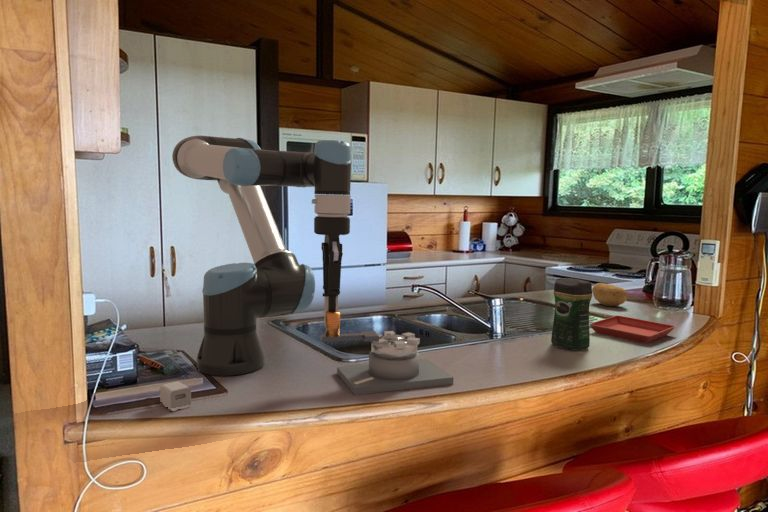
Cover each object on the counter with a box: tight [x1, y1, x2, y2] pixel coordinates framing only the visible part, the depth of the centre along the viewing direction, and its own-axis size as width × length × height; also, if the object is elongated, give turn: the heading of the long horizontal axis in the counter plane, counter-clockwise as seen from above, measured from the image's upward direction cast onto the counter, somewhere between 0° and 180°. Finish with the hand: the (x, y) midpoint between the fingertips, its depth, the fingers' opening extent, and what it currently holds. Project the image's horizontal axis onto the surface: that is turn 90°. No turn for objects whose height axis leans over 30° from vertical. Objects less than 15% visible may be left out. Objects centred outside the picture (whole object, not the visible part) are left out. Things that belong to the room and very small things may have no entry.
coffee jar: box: [550, 277, 593, 351], centre depth 150 cm, size 10×8×19 cm
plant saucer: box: [589, 315, 676, 344], centre depth 166 cm, size 18×18×3 cm
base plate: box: [336, 351, 454, 396], centre depth 122 cm, size 22×14×6 cm, turn 109°
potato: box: [592, 282, 629, 307], centre depth 208 cm, size 10×14×8 cm
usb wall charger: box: [159, 381, 192, 409], centre depth 106 cm, size 4×7×4 cm, turn 44°
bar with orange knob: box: [320, 310, 421, 360], centre depth 120 cm, size 21×11×10 cm, turn 103°
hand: (330, 325), depth 120 cm, fingers closed
